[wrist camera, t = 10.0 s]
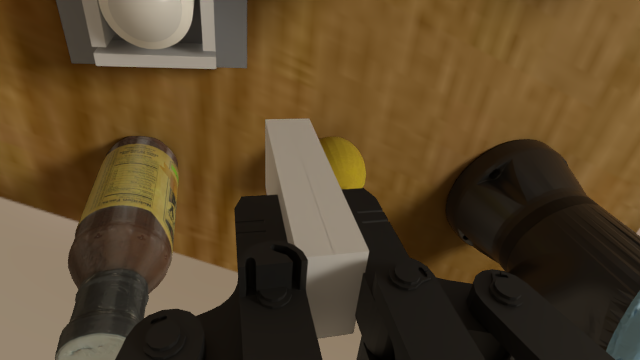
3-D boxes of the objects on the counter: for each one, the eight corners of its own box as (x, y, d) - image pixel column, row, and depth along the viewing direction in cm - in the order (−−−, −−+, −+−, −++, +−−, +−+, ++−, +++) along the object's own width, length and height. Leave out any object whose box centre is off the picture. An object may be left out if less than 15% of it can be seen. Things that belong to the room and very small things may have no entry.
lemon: (288, 138, 38) (304, 185, 32) (339, 113, 38) (366, 156, 31) (310, 178, 41) (329, 228, 35) (357, 155, 41) (385, 202, 35)
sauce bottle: (161, 198, 38) (130, 404, 23) (94, 172, 35) (4, 391, 20) (193, 149, 36) (183, 340, 21) (124, 117, 33) (50, 314, 17)
